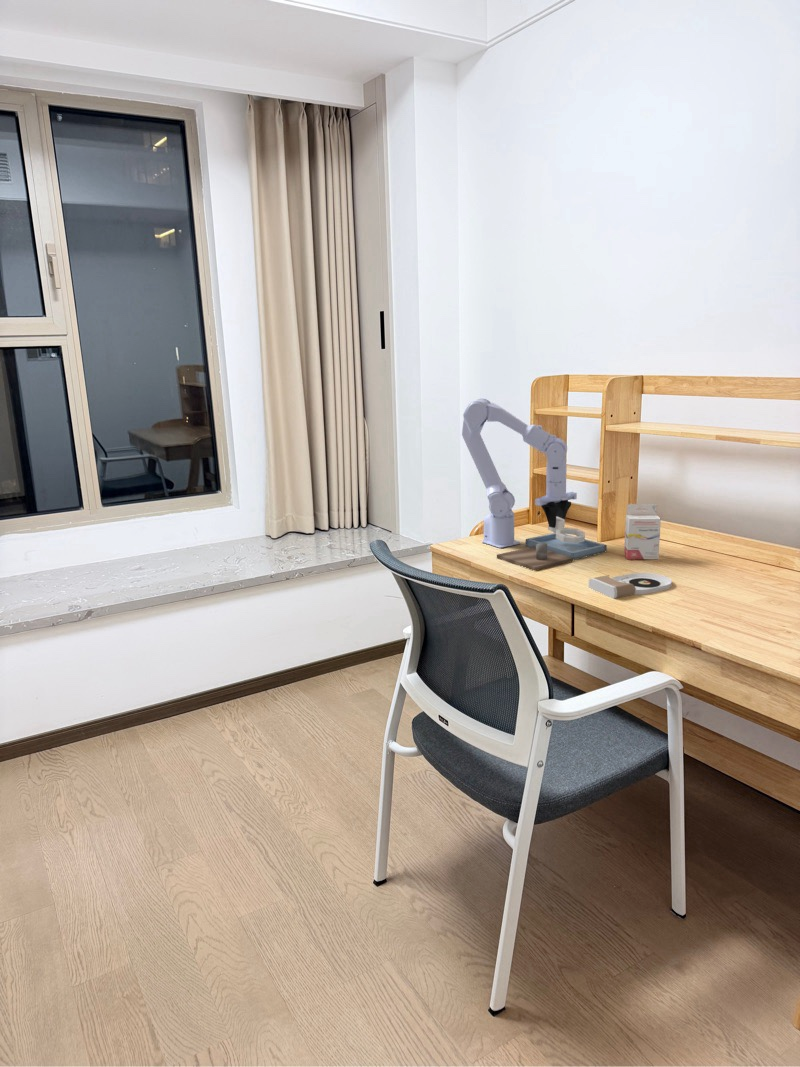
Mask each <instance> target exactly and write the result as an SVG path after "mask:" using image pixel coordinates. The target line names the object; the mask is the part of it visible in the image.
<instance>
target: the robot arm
mask: <svg viewBox="0 0 800 1067" xmlns="http://www.w3.org/2000/svg"><path fill="white" fill-rule="evenodd" d="M462 416H463V420H462V421H463V422H462V431H461V436H462V438H463V440H464V443H465V446H466V448H467V450H468V451H469V453H470V456H471V459H472V460H473V463H474V465H475V468H476V469H477V471H478V474H479V475H480V478H481V480H482V482H483V484H484V486H485V489H486V496H487V500H488V503H489V505H488V508H489V511H490V512H489V513H488V514H486V515H485V517H484V518H483V519H484V520H483V539H482V540H481V542H482V543H484V544H487V545H490V546H493V547H497V548H499V549H502V548H503V549H504V548H507V547H511V546H517V545H521V543H522V542H521V541H518V540H515V513H514V511H513V508H514V505H515V502H516V500H515V496H514V495H513V493H511V492H510V491H509V490H508V488H507V486H506V484H504V482H503V481H502V479H501V476H500V475H499V472H498V470H497V468H496V465H495V463H494V462H493V459H492V458H491V455H490V453H489V451H488V449H487V446H486V444H485V441H484V439H483V438H482V435H481V432H482V430H483V427H484V426H485V423H487V422H490V423H491V422H495V423H496V422H497V423H500V424H502V425H504V426H506V427H507V428H508V429H511V430H513V431H514V432H516V433H518V434H520V435H521V436H522V439H523V440H522V441H523V442H524V443H526V444H527V445H529V446H531V447H532V448H534V449H535V450H537V451H539V452H540V453H544V454H545V457H546V466H545V467H546V472H545V473H546V474H545V475H546V477H545V478H546V480H545V482H546V483H545V484H546V487H545V489H546V490H545V493H546V494H545V495H543V496H540V497H538V498H535V499H534V504H535V506H537V507H541V508H542V510H543V512H544V514H545V516H546V520H547V524H548V526H549V527H552V528H555V526H556V516H557V517H560V518H562V519H564V520H565V521H566V515H567V514H568V511H569V509H570V508H571V506H572V502H571V501H572V500H577V494H578V493H577V492H574V491H568V492H567V464H566V463H567V456H566V455H567V452H568V445H567V443H566V442H565V440H563V438H560V437H557V435H555V434H553V435H552V434H551V433H549V432H547V431H546V430H545V429H543V426H542V425H540V424H538V425H536V424H529V425H528V424H527V423H526V422H523V421H522V420H520V419H519V418H517V417H516V416H515V415H513V414H512V413H510V412H509V411H508V410H506V409H504V408H503V407H501V406H500V405H498V404H496V403H495V402H491V401H489V399H487V398H479V399H476V400H473V401H471V402H470V403H468V405H467V406H466V408H465V410H464V412H463V415H462ZM569 500H571V501H569Z"/></svg>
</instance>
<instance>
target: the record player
mask: <svg viewBox="0 0 800 1067" xmlns="http://www.w3.org/2000/svg"><path fill="white" fill-rule="evenodd" d="M672 584H673V581H672V579H671V578H670V577H668V576H665V575H663V574H659V573H653V572H633V573H628V574H622V575H617V576H614V577H610V574H607V575H602V576H598V577H597V576H596V577H590V578H589V579H588V589H589V588H591V589H593V590H592V591H594V590H595V591H594V592H596V591H597V593H598V592H600V593H599V594H601V593H602V594H601V595H603V594H604V595H603V596H605V597H608V598H610V597H611V598H610V599H613V600H614V599H618V598H619V597H620V598H623V597H628V596H633V595H647V594H652V593H653V594H654V593H657V592H658V593H659V592H661V591H665V590H668V589H670V588H671V587H672V586H673V585H672ZM591 589H590V590H591ZM620 598H619V599H620Z"/></svg>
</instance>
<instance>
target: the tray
mask: <svg viewBox="0 0 800 1067" xmlns="http://www.w3.org/2000/svg"><path fill="white" fill-rule="evenodd" d="M563 535H565V536H572V537H576V535H575V536H574V535H572V534H563ZM538 543H545V544H547V550H548V551H552V552H555V553H558V554H562V555H565V556H568V557H572V558H573V561H575V560H579V559H583V558H587V557H591V556H590V555H592V556H595V555H594V554H596V555H599V554H598V553H600V554H603V553H602V552H604V553H606V552H605V551H607V550H608V547H607V546H608V545H607V544H604V543H600V542H597V541H593V540H588V539H586V538H585V541H583V542H579V543H568V542H563V541H560V540H558V539H556V533H554V532H551V533H547V534H543V535H538V536H533V537H528V538H525V546H526V547H528V548H529V547H533V546H535V547H536V544H538ZM607 552H608V551H607ZM586 556H587V557H586ZM582 557H583V558H582Z"/></svg>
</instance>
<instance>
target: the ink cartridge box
mask: <svg viewBox="0 0 800 1067" xmlns="http://www.w3.org/2000/svg"><path fill="white" fill-rule="evenodd" d="M638 509H640V510H638ZM642 509H646V510H642ZM657 510H658V505H657V504H656V503H654V504H651V503H646V504H644V503H643V504H642V503H640V504H639V503H635V504H634V503H633V504H630V503H629V504H627V505H626V515H625V524H624V530H625V531H624V549H623V550H624V551H623V555H624V556H625V558H626V559H627V560H631V559H634V560H635V559H658V560H659V555H660V541H661V540H660V538H661V523H662V522H661V518H660V516H658V514H657ZM635 561H636V560H635Z"/></svg>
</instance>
